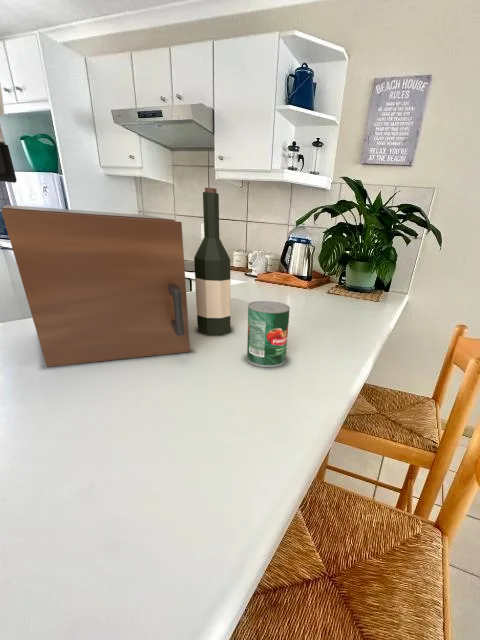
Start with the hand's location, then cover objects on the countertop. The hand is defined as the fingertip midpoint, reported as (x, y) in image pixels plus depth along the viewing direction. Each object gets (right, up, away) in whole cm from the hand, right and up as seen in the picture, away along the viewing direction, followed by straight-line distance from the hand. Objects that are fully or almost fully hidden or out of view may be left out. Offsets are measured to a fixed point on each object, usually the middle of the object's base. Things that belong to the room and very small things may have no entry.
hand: (1, 180), depth 41 cm
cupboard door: (+7, -22, +17) cm, 29 cm away
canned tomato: (+32, -21, +24) cm, 46 cm away
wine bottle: (+18, -13, +38) cm, 44 cm away
